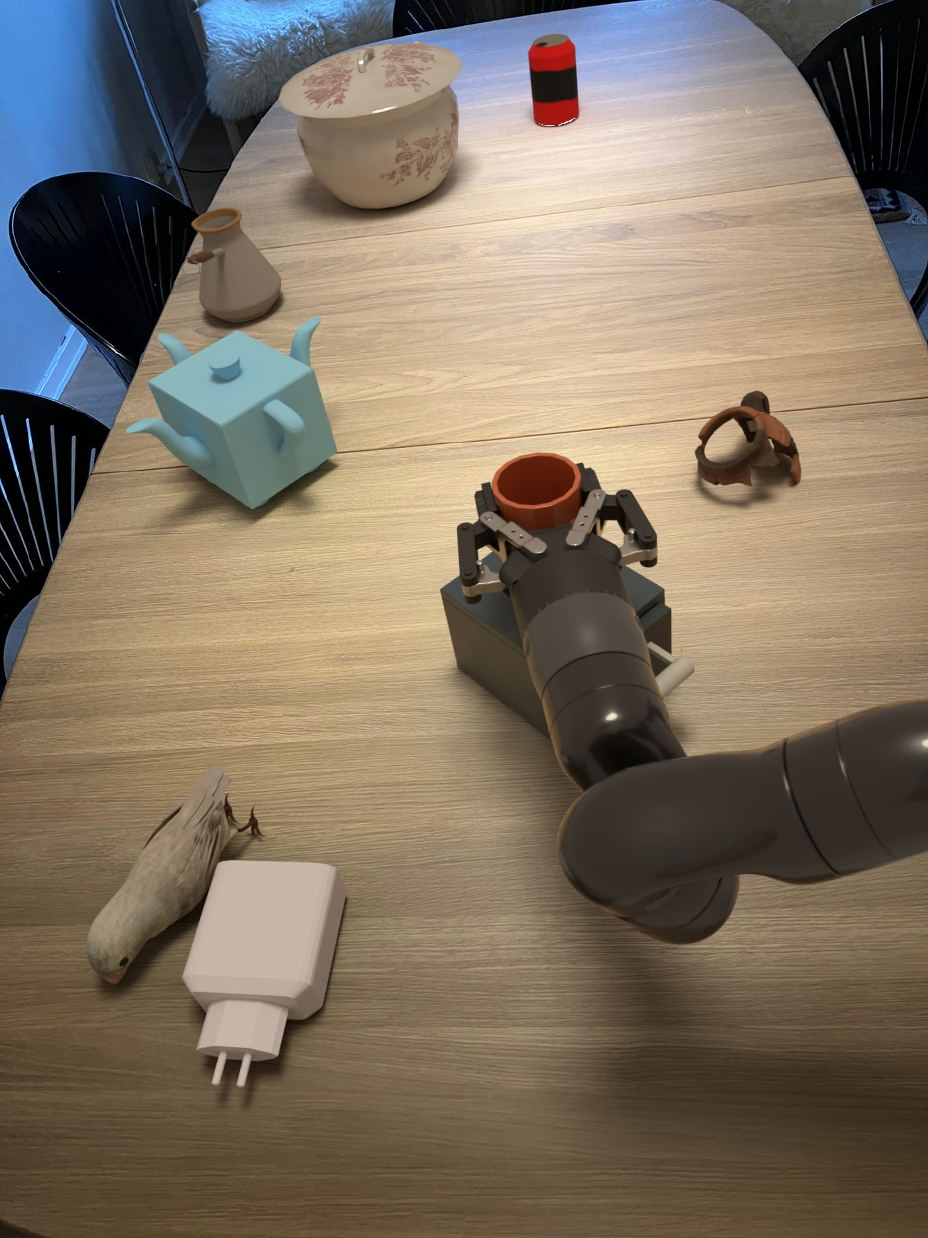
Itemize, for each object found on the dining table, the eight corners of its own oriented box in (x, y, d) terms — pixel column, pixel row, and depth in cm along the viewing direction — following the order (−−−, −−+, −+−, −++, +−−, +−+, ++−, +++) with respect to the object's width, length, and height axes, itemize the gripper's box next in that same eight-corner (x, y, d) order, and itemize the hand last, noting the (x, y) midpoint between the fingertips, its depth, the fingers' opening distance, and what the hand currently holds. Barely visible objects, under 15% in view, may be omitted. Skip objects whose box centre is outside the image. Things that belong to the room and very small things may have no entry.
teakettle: (334, 514, 109) (299, 397, 98) (164, 533, 111) (111, 419, 100) (349, 410, 122) (319, 297, 111) (196, 428, 124) (153, 319, 113)
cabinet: (665, 670, 88) (665, 588, 81) (567, 753, 83) (558, 674, 76) (552, 595, 96) (542, 515, 89) (457, 667, 91) (439, 588, 84)
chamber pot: (339, 249, 151) (303, 102, 136) (285, 186, 170) (248, 51, 155) (510, 190, 156) (493, 42, 142) (440, 136, 175) (418, 0, 160)
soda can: (524, 122, 174) (517, 44, 165) (556, 105, 177) (550, 28, 168) (557, 130, 169) (551, 51, 161) (588, 113, 172) (584, 35, 164)
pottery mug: (809, 506, 100) (774, 460, 94) (718, 529, 105) (680, 486, 100) (809, 408, 105) (775, 359, 100) (723, 435, 111) (687, 390, 105)
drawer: (712, 700, 84) (715, 635, 78) (623, 780, 80) (619, 717, 74) (565, 603, 94) (558, 538, 88) (478, 669, 90) (465, 606, 84)
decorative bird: (86, 972, 76) (41, 923, 71) (226, 806, 85) (196, 751, 79) (137, 1006, 74) (94, 958, 68) (276, 831, 82) (248, 777, 77)
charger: (174, 1095, 69) (233, 891, 79) (305, 1104, 67) (349, 895, 77) (148, 1068, 65) (213, 859, 76) (286, 1078, 64) (334, 862, 74)
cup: (604, 568, 82) (597, 467, 74) (558, 618, 78) (546, 518, 71) (538, 542, 85) (526, 443, 78) (492, 589, 82) (474, 491, 75)
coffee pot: (214, 292, 148) (178, 189, 137) (292, 281, 146) (261, 177, 136) (183, 375, 133) (140, 267, 122) (269, 365, 132) (234, 255, 121)
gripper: (479, 698, 69) (447, 538, 80) (691, 655, 68) (628, 500, 80) (463, 620, 63) (431, 461, 75) (692, 573, 63) (624, 421, 75)
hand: (533, 482), depth 78 cm, fingers closed on cup, 6 cm apart
